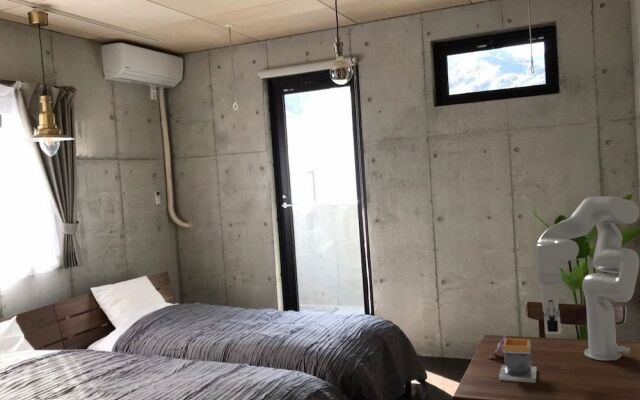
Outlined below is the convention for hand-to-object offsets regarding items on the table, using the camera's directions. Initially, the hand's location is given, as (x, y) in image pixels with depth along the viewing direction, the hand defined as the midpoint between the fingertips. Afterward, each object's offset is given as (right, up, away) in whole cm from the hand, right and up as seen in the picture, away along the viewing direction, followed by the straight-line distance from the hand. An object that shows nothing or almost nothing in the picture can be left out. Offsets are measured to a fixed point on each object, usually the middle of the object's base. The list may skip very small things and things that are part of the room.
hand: (552, 328), depth 197 cm
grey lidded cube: (0, -1, 0) cm, 1 cm away
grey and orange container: (-10, -18, +5) cm, 21 cm away
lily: (-10, -17, +25) cm, 32 cm away
